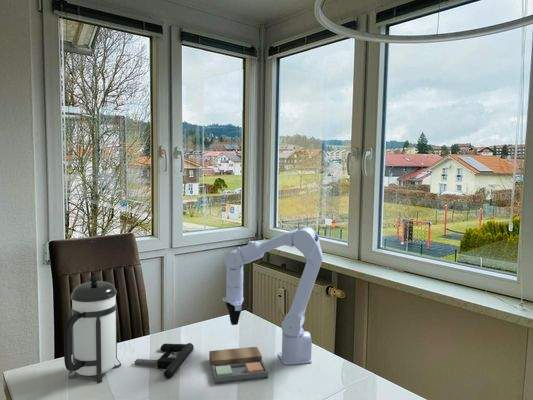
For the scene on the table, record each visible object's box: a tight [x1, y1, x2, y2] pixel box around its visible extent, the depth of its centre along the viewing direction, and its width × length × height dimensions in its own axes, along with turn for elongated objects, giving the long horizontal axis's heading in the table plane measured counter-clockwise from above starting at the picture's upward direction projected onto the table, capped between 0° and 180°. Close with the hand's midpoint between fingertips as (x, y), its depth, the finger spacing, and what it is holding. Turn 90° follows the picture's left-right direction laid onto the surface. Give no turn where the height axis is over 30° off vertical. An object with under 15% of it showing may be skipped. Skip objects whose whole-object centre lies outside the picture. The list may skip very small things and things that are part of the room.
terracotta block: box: [246, 362, 263, 373], centre depth 125 cm, size 4×4×2 cm
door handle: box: [134, 342, 195, 379], centre depth 132 cm, size 3×20×16 cm
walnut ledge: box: [208, 346, 263, 370], centre depth 132 cm, size 16×7×3 cm, turn 104°
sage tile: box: [215, 365, 232, 376], centre depth 123 cm, size 4×4×2 cm
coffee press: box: [63, 275, 122, 383], centre depth 122 cm, size 17×16×30 cm
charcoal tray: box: [211, 359, 269, 385], centre depth 125 cm, size 16×8×2 cm, turn 104°
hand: (234, 324), depth 140 cm, fingers closed
